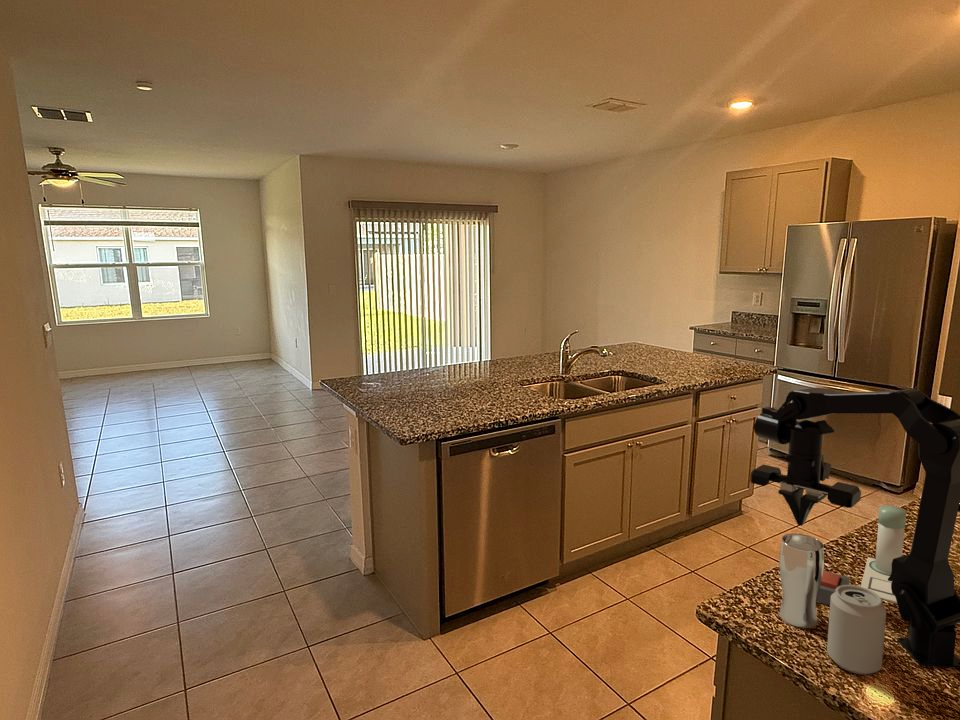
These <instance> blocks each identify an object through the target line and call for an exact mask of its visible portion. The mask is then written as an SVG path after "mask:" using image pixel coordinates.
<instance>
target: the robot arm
mask: <svg viewBox="0 0 960 720" xmlns="http://www.w3.org/2000/svg"><path fill="white" fill-rule="evenodd" d="M836 414H893V415H894V416H895V417H896V418H897V419H898V420H899V423H900V424H901V426H902V428H903V430H904V431H905V433H906V434H907V435H908V436H909V437H910V438H912V439H913V441H915V442H916V443H918V458H919V461H920V463H921V465H922V467H923V470H924V473H925V475H924V479H923V485H922V491H921V496H920V500H919V501H920V502H919V507H918V510H917V511H918V512H917V517H916V521H915V527H914V533H913V537H912V541H911V548H910V551H909V553H908V554H906V555H902V556H901V557H898V558H895V559H893V561H892V572H891V575H890V577H889V578H888V581H892V583H891V590H892V593H893V594H894V595H895V597H896V601H897V603H896V604H897V607H898V611H899V615H900V619H902V620H903V621H905V622H907V623H908V631H907V632H908V633H907V637H898V639H897V643H899V644H900V645H901V646H902V647H903V648H904V650H905V651H906V652H907V653H908V654H909V655H910V656H911V658H913V660H914V661H915V662H916V663H917V664H918V665H920V666H922V667H935V668H949V669H951V668H952V669H960V659H959V658H958V657H957V656H956V654H955V651H956V643H957V642H956V641H957V630H956V627H957V626H956V625H957V624H960V595H958V593H957V592H956V590H955V573H954V572H953V569H952V568H951V565H950V563H949V555H950V550H951V545H952V540H953V536H954V531H955V527H956V523H957V522H956V521H957V517H958V511H959V507H960V414H959V413H958V412H957V411H956V410H954V409H952V408H949V407H947V406H946V405H944V404H941V403H939V402H938V401H935V400H934V399H932V398H930V396H928V395H927V394H926V393H924V392H923V391H922V390H919V389H916V388H904V389H899V390H898V389H897V390H877V391H874V390H873V391H851V392H850V391H849V392H842V391H837V390H835V389H831V388H825V387H811V388H810V387H809V388H803V389H795V390H791V391H789V392H788V393H787V396H786V398H785V401H784V402H783V403H782V404H781V406H780V407H779V408H778V409H777V408H775V407H772V406H765V407H762V409H761V413H760V414H759V415H757V417H756V419H755V422H754V424H753V430H754V434H755V435H756V436H757V437H758V438H761V439H764V440H767V441H770V442H774V443H777V444H780V445H788V455H786V456H785V462H787V470H786V471H787V472H786V473H787V474H782V470H781V468H780V467H777V466H776V467H775V466H772V465H768V464H761V465H760V466H758V467H756V468H755V469H752V470H751V472H750V476H749V482H750V483H751V484H754V485H758V486H762V487H765V486H767V485H768V484H770V482H773V483H777V484H780V486H779V487H780V489H779V490H778V494H779V495H781V496H783V498H784V500H785V501H786V503H787V505H788V507H789V509H790V511H791V513H792V515H793V518H794V519H795V522H796V524H797V525H798V526H801V527H802V526H804V524H805V522H806V520H807V519H808V516H809V515H810V513H811V510H812V509H813V508H814V505H815V504H818V503H820V502H821V501H823V500H824V499H826V497H827V500H828V501H829V502H830V504H832V505H835V506H838V507H841V508H842V507H843V508H846V509H848V508H849V509H852V508H853V507H854V506H855V505H857V504H858V503H859V502H860V501H861V500H862V499H861V497H862V491H861V489H860V487H859V486H858V485H853V484H849V483H846V482H841V481H837V482H836V483H834V484H833V485H828V484H824V483H821V482H824V481H825V480H827V479H828V480H829V478H830V473H831V468H832V463H829V462H825V461H824V459H825V458H824V454H822V452H823V441H824V440H823V439H824V437H823V436H824V435H830V434H834V433H835V429H834V428H833V427H832V426H831V425H829V424H828V423H827V421H826V420H825V419H824V420H823V419H822V420H817V421H813V420H808V419H813V418H819V417H823V416H824V417H825V416H829V415H830V416H831V415H836ZM799 420H800V421H799ZM804 490H805V494H804Z"/></svg>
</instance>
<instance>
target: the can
mask: <svg viewBox="0 0 960 720" xmlns="http://www.w3.org/2000/svg"><path fill="white" fill-rule="evenodd" d="M828 617H829V618H828V629H827V643H826V645H827V647H826V653H827V654H828V656H829V657H830V658H831V659H832V660H833V661H834V663H835V664H836V665H837V666H839V667H840V668H842V669H843V670H846V671H847V672H849V673H853V674H856V675H870V674H874V673H877V672H879V671H880V670H881V669H882V666H883V655H884V654H883V653H884V641H885V631H886V619H887V608H886V607H885V606H884V604H883V599H881V598H880V597H879V596H878V595H877V594H876V593H874V592H872V591H870V590H868V589H866V588H863V587H861V586H859V585H854V584H853V585H852V584H850V585H842V586H839V587H837V588H836V592H834V593H833V594H832V595H831V599H830V606H829V616H828Z"/></svg>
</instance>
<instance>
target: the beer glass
mask: <svg viewBox="0 0 960 720" xmlns="http://www.w3.org/2000/svg"><path fill="white" fill-rule="evenodd" d="M824 554H825V553H824V543H823V542H822V541H821V540H819V539H818V538H815V537H814V536H811V535H806V534H802V533H787V534H784V535H783V536H781V545H780V552H779V561H778V563H779V565H778V566H779V575H780V583H781V589H782V600H781V604H780V609H779V612H778V613H779V617H780V618H781V619H782V620H783V621H784V622H785V623H786V624H788V625H791V626H793V627H797V628H802V629H810V628H811V629H812V628H814V627H816V625H817V624H818V615H817V602H816V599H817V595H818V592H819V589H820V585H821V582H822V577H823V570H824V567H825V566H824V565H825V555H824ZM824 571H825V570H824Z"/></svg>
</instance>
